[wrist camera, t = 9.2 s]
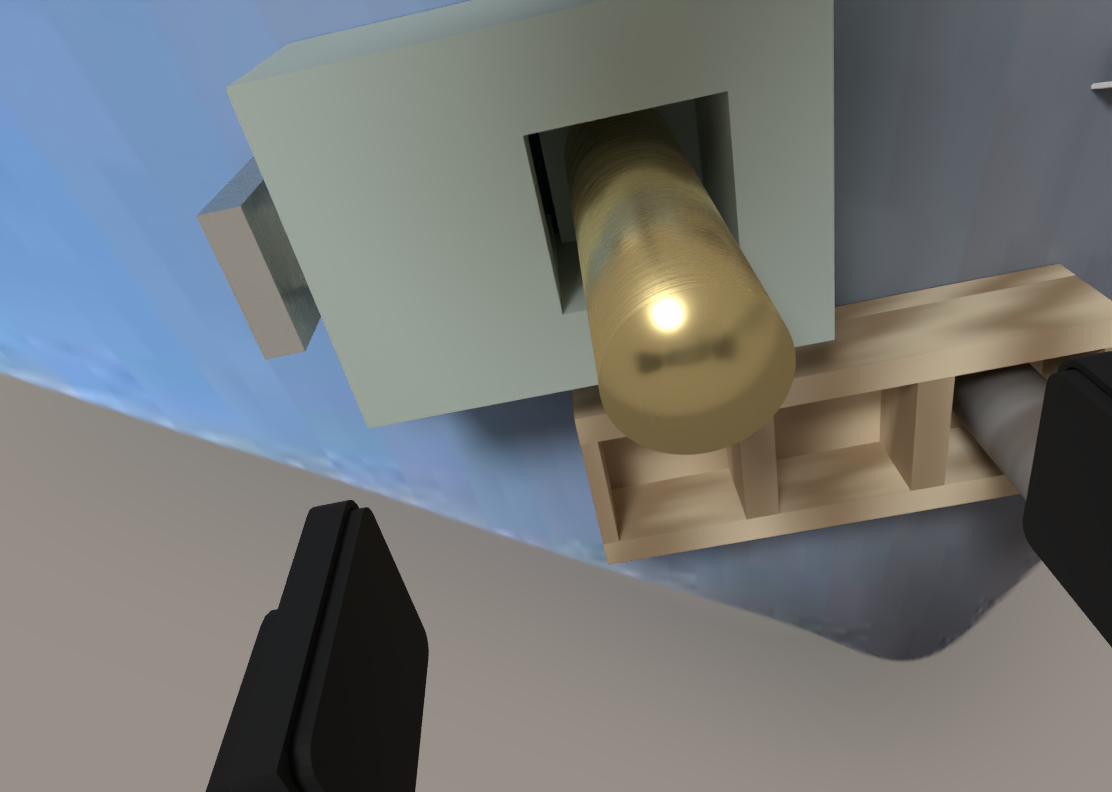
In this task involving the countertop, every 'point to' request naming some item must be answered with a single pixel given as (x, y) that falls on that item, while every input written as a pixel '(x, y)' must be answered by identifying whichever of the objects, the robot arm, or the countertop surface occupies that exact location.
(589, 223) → the gold cylindrical peg
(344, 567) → the robot arm
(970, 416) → the rack
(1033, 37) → the countertop surface
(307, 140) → the socket block
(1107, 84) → the adhesive hook
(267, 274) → the t-shaped push slider
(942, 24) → the countertop surface
